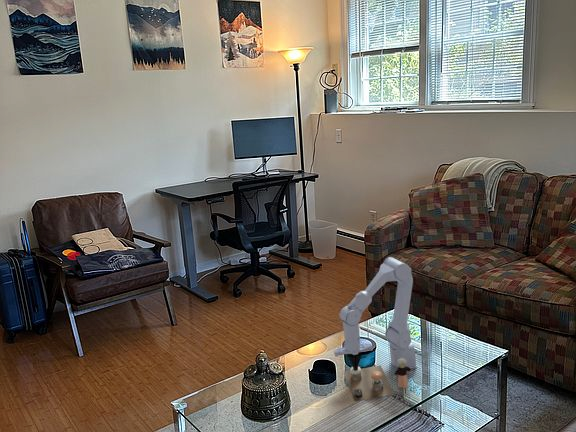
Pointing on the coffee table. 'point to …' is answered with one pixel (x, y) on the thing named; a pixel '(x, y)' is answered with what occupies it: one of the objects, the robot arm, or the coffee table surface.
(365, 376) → the beige rectangular board
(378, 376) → the knob near
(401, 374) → the grandmother figurine
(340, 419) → the coffee table surface
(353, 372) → the knob far
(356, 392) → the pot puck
